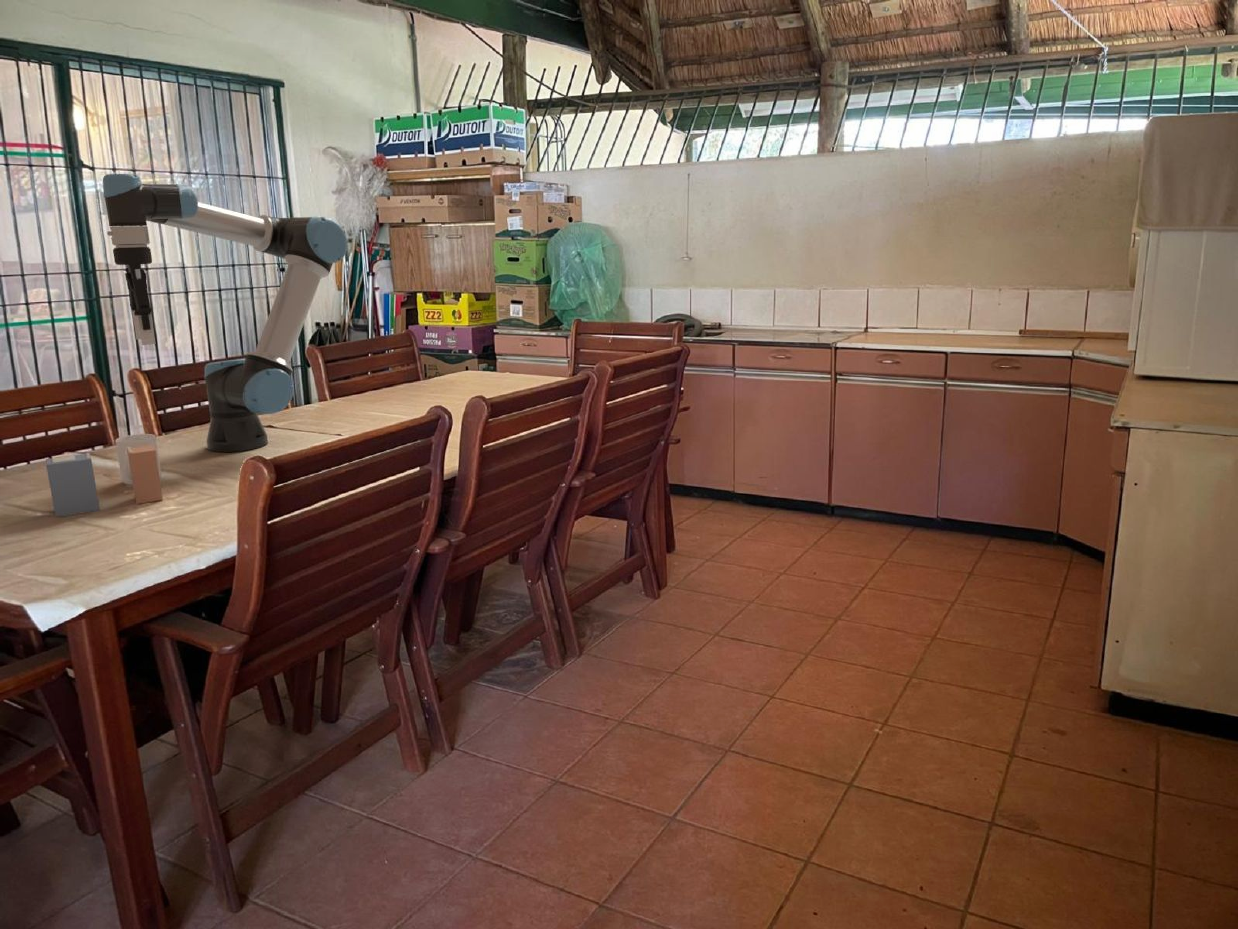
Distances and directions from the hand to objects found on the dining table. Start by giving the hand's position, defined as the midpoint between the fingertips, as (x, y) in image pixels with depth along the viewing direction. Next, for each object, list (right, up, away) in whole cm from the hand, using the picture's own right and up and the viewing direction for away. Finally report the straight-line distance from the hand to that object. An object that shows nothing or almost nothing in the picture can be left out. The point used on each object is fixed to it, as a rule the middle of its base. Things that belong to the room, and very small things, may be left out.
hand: (145, 341), depth 211 cm
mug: (-2, -33, +2) cm, 33 cm away
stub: (+6, -36, -11) cm, 38 cm away
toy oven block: (-5, -38, -18) cm, 42 cm away
